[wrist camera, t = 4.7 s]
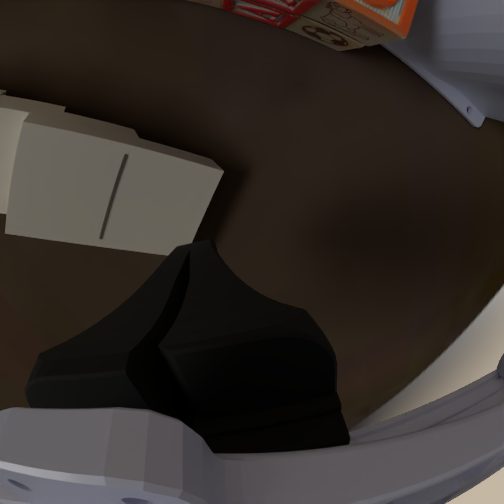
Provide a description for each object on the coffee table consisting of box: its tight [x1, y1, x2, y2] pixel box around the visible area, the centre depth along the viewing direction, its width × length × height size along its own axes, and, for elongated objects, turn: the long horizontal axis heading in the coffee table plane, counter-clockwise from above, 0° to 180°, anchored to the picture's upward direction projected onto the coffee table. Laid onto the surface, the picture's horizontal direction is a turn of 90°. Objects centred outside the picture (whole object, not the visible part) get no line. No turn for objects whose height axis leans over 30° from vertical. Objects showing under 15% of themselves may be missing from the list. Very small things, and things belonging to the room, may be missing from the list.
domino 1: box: [0, 100, 139, 214], centre depth 12 cm, size 2×5×9 cm
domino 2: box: [5, 113, 224, 255], centre depth 13 cm, size 2×5×9 cm
